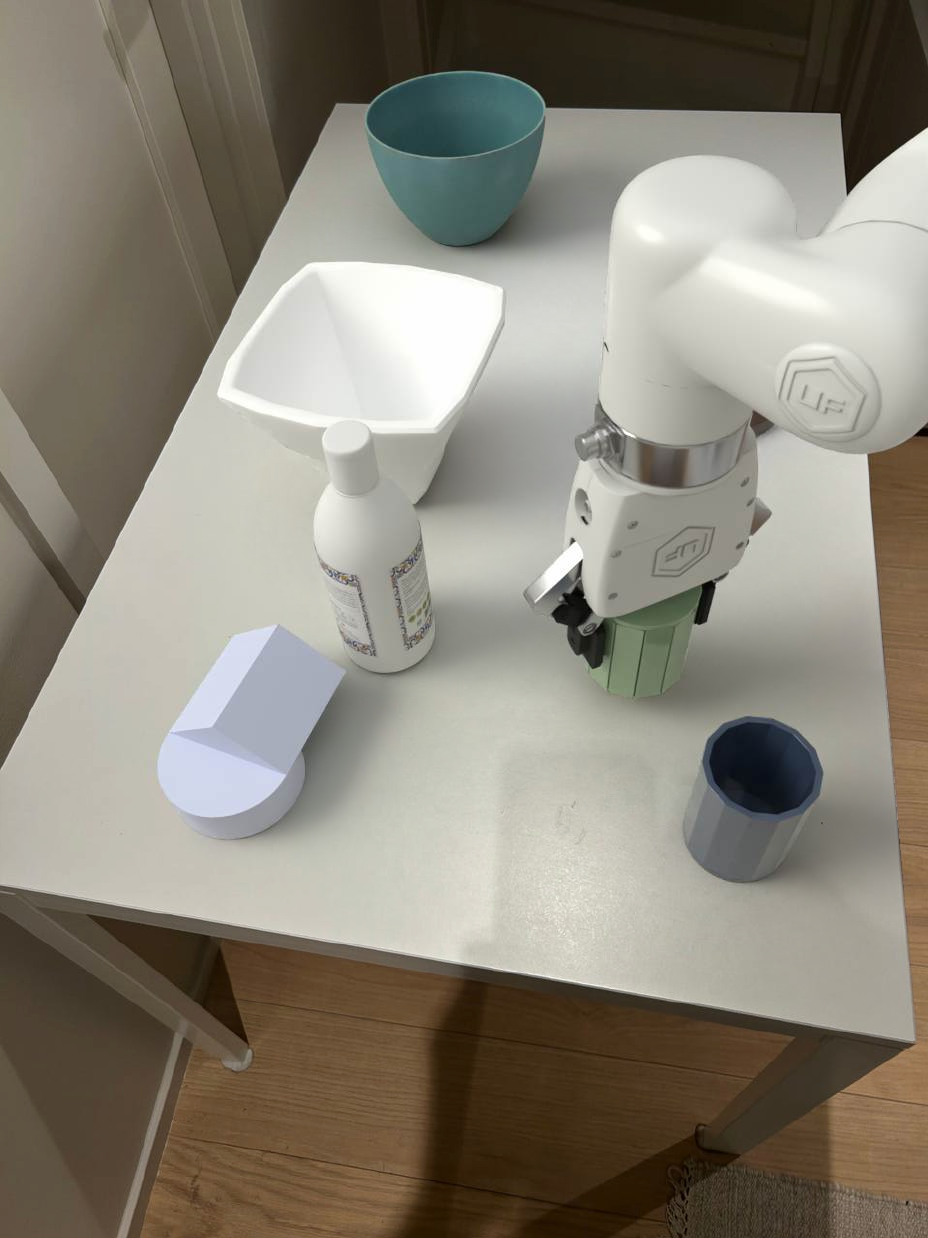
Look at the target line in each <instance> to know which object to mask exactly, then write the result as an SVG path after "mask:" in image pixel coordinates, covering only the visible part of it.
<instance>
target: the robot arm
mask: <svg viewBox="0 0 928 1238" xmlns="http://www.w3.org/2000/svg"><path fill="white" fill-rule="evenodd" d="M796 207H797V206H796V204H795V201H794V198H793V196H792V195H791V192H790V190H789V189H788V187H786V185H785V184H784V183H783V181H782V180H780V179H779V178H778V177H776V176H775V175H774V174H773V173H771V172H770V171H768V170H767V169H765V168H764V167H762V166H760V165H757V164H756V163H753V162H751V161H747V160H744V159H740V158H737V157H736V158H735V157H731V156H724V155H714V154H698V155H697V154H696V155H685V156H680V157H674V158H671V159H667V160H664V161H661V162H659V163H657V164H654V165H653V166H650V167H648V168H646V169H645V170H643V171H641V172H640V173H638V175H636V176H635V177H634V178H633V179H632V180H631V181H630V182H629V183H628V184H627V185H626V187H625V188H624V189H623V191H622V192H621V194H620V195H619V198H618V200H617V202H616V204H615V207H614V211H613V214H612V218H611V227H610V234H609V243H608V247H609V248H608V255H607V256H608V258H607V271H606V282H605V283H606V285H605V295H604V296H605V297H604V309H603V311H604V312H603V325H602V337H601V338H602V339H601V351H600V364H599V379H598V393H597V403H595V405H594V414H593V415H594V417H593V418H594V419H593V424H592V425H591V427H589V428H588V429H587V430H586V431H585V432H583V433H581V434H578V435H575V437H574V441H573V443H574V448H575V452H576V454H577V456H578V458H579V462H578V465H577V469H576V472H575V475H574V478H573V482H572V486H571V490H570V495H569V500H568V504H567V511H566V517H565V524H564V534H563V535H564V536H563V545H562V547H563V548H562V553H561V554H560V555H559V557H557V558H556V559H555V560H554V561H553V562H552V563H551V564H550V565H549V566H548V567H547V568H546V569H544V571H543V572H542V573H541V574H540V575H538V576H537V578H536V579H534V580H533V582H531V583H530V584H529V585H528V586H527V587H526V588H525V589H524V591H523V593H522V596H523V598H524V599H525V600H526V603H528V605H529V607H530V608H531V610H532V611H533V612H534V613H537V614H540V615H542V616H544V617H546V618H551V619H553V620H554V621H555V623H556V624H559V625H564V626H567V627H566V639H567V642H568V645H569V647H570V648H571V650H572V651H573V653H574V655H575V656H577V657H579V656H581V655H582V654H583V655H582V657H583V656H584V658H585V659H586V661H587V662H588V664H589V665H590V667H591V668H592V669H595V668H598V667H600V666H601V664H602V663H603V656H604V647H605V639H606V630H605V628H604V627H603V625H602V624H601V623H602V621H603V620H604V618H605V617H617V616H622V615H625V614H628V613H631V612H633V611H636V610H639V609H641V608H644V607H646V606H649V605H651V604H654V603H656V602H659V601H662V600H664V599H667V598H669V597H672V596H674V595H676V594H679V593H681V592H684V591H686V590H689V589H691V588H693V587H696V586H698V585H701V584H702V594H701V598H700V602H699V606H698V610H697V615H696V619H695V623H694V625H698V626H702V625H704V624H706V623H707V622H708V620H709V615H710V611H711V607H712V604H713V600H714V596H715V593H716V588H717V583H720V582H722V581H723V580H725V579H726V578H727V577H728V576H729V573H730V571H732V570H733V569H734V568H735V567H736V566H738V565H739V563H740V562H741V561H742V559H743V556H744V554H745V551H746V549H747V547H748V545H749V544H750V539H749V538H750V536H754V535H755V534H756V533H757V532H758V531H759V530H760V529H761V528H762V526H764V524H766V523H767V521H768V520H769V519H770V518H771V517H772V514H773V511H772V510H771V509H770V508H769V507H768V506H767V505H766V503H764V501H762V499H761V498H760V497H757V493H758V481H759V457H758V456H759V454H758V441H757V436H756V435H755V433H754V431H753V429H752V428H751V427H750V422H751V418H752V414H753V410H755V411H756V412H758V413H759V414H761V415H762V416H764V417H765V418H767V419H768V420H770V421H771V422H773V423H774V424H775V426H777V427H779V428H781V429H782V430H784V431H786V432H788V433H789V434H791V435H793V436H795V437H796V438H798V439H800V440H803V441H805V442H806V443H809V444H811V445H813V446H816V447H819V448H820V449H821V448H822V449H824V450H828V451H833V452H837V453H841V454H846V455H847V454H848V455H870V454H874V453H881V452H884V451H887V450H890V449H893V448H895V447H897V446H900V445H901V444H903V443H904V442H906V441H908V440H909V439H911V438H912V437H914V436H915V435H916V434H917V433H918V432H920V430H922V429H923V428H924V426H926V424H927V423H928V127H926V128H924V129H923V130H922V131H920V132H919V133H918V134H916V135H915V136H914V137H913V138H911V139H909V140H908V141H907V142H905V143H904V144H903V145H901V146H900V147H898V148H897V149H896V150H895V151H894V152H892V153H891V154H889V155H888V156H887V157H885V158H884V159H883V160H882V161H881V162H880V163H878V164H877V165H876V166H875V167H873V169H871V170H870V171H869V172H868V173H867V174H866V175H865V176H864V177H863V178H862V179H861V180H860V181H859V182H858V183H857V184H856V185H854V187H853V189H852V190H851V191H850V192H849V193H848V194H847V196H846V197H845V198H844V200H843V201H842V202H841V203H840V204H839V206H838V207H837V208H836V209H835V211H834V212H833V213H832V214H831V215H830V216H829V218H828V219H827V221H826V222H825V223H824V225H823V226H822V227H821V229H820V230H819V232H818V233H817V234H816V236H815V237H811V238H807V239H806V238H802V237H801V236H799V234H798V211H797V208H796ZM774 424H773V425H774ZM584 658H583V659H584Z"/></svg>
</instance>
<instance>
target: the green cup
mask: <svg viewBox="0 0 928 1238" xmlns="http://www.w3.org/2000/svg"><path fill="white" fill-rule="evenodd" d="M701 594H702V584H701V585H698V586H696V587H693V588H691V589H689V590H686V591H684V592H681V593H679V594H676V595H674V596H672V597H669V598H667V599H664V600H662V601H659V602H656V603H654V604H651V605H649V606H646V607H644V608H641V609H639V610H636V611H633V612H631V613H628V614H625V615H622V616H617V617H605V618H604V620H603V621H602V623H601V624H602V625H603V627H604V628H605V630H606V639H605V647H604V656H603V663H602V664H601V666H600V667H598V668H595V669H592V668H591V667H590V665H589V664H588V662H587V661H586V659H585V658H584V656H583V654H581V655H582V659H583V662H584V665H585V668H586V669H585V670H586V672H587V674H588V676H589V677H590V678H592V679H593V680H594V681H595V682H596V683H597V684H598V685H599V686H600V687H602V689H604V691H607V692H608V693H611V694H615V695H618V696H621V697H625V698H629V699H632V700H633V699H635V700H637V699H643V698H649V697H654V696H659V695H660V694H661V695H662V694H663V693H665V692H666V691H667V690H668V689H670V688H671V687H672V686H674V685H675V684H676V683H677V682H679V681H680V679H681V677H682V674H683V670H684V666H685V663H686V660H687V655H688V651H689V648H690V645H691V639H692V634H693V632H694V627H695V624H694V623H695V619H696V615H697V610H698V606H699V602H700V598H701Z"/></svg>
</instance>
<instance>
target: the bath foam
mask: <svg viewBox="0 0 928 1238" xmlns="http://www.w3.org/2000/svg"><path fill="white" fill-rule="evenodd" d="M322 446H323V450H324V454H325V458H326V462H327V466H328V470H329V474H330V478H331V481H330V483H328V484H327V486H326V488H325V489H324V491H323V492H322V494H321V496H320V498H319V500H318V502H317V505H316V508H315V511H314V515H313V523H312V525H313V526H312V527H313V528H312V530H313V532H312V533H313V543H314V549H315V552H316V557H317V559H318V562H319V567H320V570H321V573H322V576H323V577H322V578H323V580H324V584H325V587H326V590H327V591H326V592H327V594H328V598H329V601H330V605H331V608H332V612H333V615H334V618H335V622H336V626H337V630H338V632H339V634H340V635H339V636H340V638H341V641H342V645H343V648H344V650H345V653H346V654H347V656H348V657H349V658H350V659H351V660H352V662H354V663H355V664H356V665H357V666H358V667H361V668H362V669H364V670H367V671H370V672H374V673H379V674H390V673H398V672H401V671H404V670H406V669H408V668H411V667H413V666H414V665H417V664H418V663H419V662H420V661H421V660H423V658H424V657H426V655H427V654H428V653H429V651H430V649H432V646H433V643H434V640H435V635H436V634H435V633H436V628H435V627H436V626H435V618H434V610H433V603H432V597H431V596H432V595H431V590H430V589H431V588H430V581H429V575H428V569H427V563H426V562H427V561H426V554H425V549H424V541H423V534H422V527H421V522H420V520H419V516H418V514H417V511H416V508H415V506H414V504H412V502H411V500H410V499H409V497H408V496H407V494H406V493H405V492H404V491H403V490H402V489H401V487H400V486H399V485H397V484H396V483H395V482H394V481H393V480H391V479H390V478H388V477H387V476H385V475H384V474H382V473H381V472H379V471H378V465H377V459H376V454H375V448H374V443H373V438H372V433H371V431H370V429H369V428H368V426H366V425H365V424H364V423H362V422H359V421H355V420H344V421H340V422H337V423H335V424H333V425H331V426H330V427H329V428H327V430H326V431H325V432H324V434H323V436H322Z"/></svg>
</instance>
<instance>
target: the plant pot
mask: <svg viewBox="0 0 928 1238" xmlns="http://www.w3.org/2000/svg"><path fill="white" fill-rule="evenodd" d="M546 115H547V106H546V102H545V100H544V98H543V97H542V95H541V94H540V93H539V92H538V90H536V89H535V88H533V86H531V85H529V84H527V83H526V82H523V81H521V80H519V79H517V78H515V77H511V76H508V75H504V74H499V73H495V72H488V71H487V72H486V71H476V70H456V71H444V72H436V73H433V74H432V73H430V74H426V75H421V76H417V77H413V78H410V79H408V80H404V81H401V82H400V83H397V84H395V85H393V86H391V87H389V88H388V89H386V90H384V91H383V92H381V93H380V94H379V95H377V96H376V97H375V98H374V99H373V100H372V101H371V102H370V103H369V105H368V107H367V108H366V110H365V113H364V118H363V119H364V122H363V123H364V128H365V133H366V138H367V142H368V145H369V149H370V153H371V156H372V158H373V161H374V164H375V166H376V169H377V172H378V174H379V176H380V178H381V180H382V183H383V184H384V185H383V186H384V187H385V188H386V190H387V192H388V194H389V196H390V198H391V199H392V200H393V202H394V203H395V205H396V206H397V208H398V209H399V211H401V213H402V214H403V215H404V216H405V217H406V219H408V220H409V221H410V222H411V224H413V226H415V227H416V228H417V229H418V230H419V231H420V232H421V233H422V234H424V235H425V236H426V237H428V238H429V239H430V240H432V241H434V242H436V243H437V244H438V243H439V244H442V245H445V246H452V247H453V246H454V247H463V246H470V245H476V244H479V243H482V242H484V241H485V240H488V239H489V238H491V237H492V236H494V235H495V234H496V233H497V232H498V231H499V230H500V229H501V227H502V226H503V225H504V224H505V223H506V222H507V221H508V220H509V218H510V217H511V215H512V214H513V213H514V212H515V210H516V208H517V207H518V206H519V204H520V202H521V200H522V199H523V198H524V196H525V194H526V192H527V190H528V187H529V186H530V183H531V180H532V177H533V176H534V173H535V171H536V167H537V164H538V161H539V157H540V153H541V149H542V146H543V145H542V144H543V140H544V135H545V134H544V132H545V127H546V118H547V117H546Z"/></svg>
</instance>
